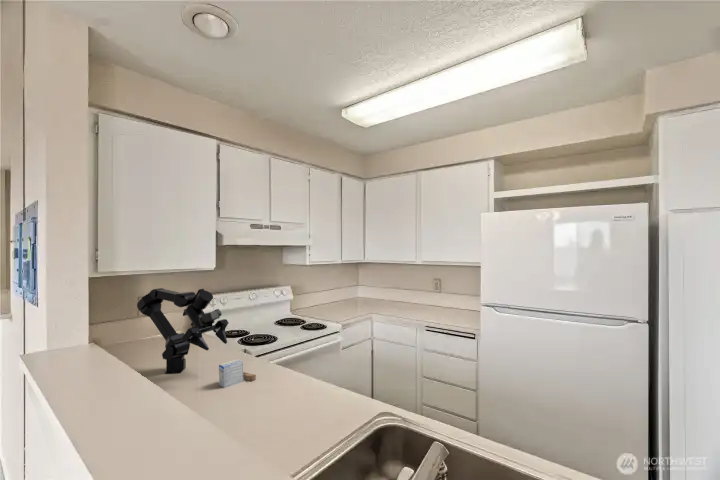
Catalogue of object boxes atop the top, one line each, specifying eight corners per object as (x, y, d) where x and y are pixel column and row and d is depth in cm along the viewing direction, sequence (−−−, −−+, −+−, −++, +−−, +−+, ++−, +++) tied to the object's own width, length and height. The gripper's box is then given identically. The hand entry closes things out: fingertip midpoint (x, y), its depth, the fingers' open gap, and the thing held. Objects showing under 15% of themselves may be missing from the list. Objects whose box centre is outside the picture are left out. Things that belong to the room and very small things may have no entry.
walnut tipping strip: (229, 377, 137) (229, 371, 137) (233, 375, 139) (233, 369, 139) (252, 382, 132) (252, 376, 132) (255, 381, 133) (255, 374, 133)
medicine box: (238, 380, 134) (237, 358, 134) (243, 382, 131) (243, 360, 131) (219, 386, 128) (218, 364, 128) (224, 390, 125) (224, 366, 125)
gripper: (187, 308, 127) (208, 340, 123) (225, 300, 144) (245, 327, 140) (173, 326, 131) (193, 358, 126) (212, 316, 148) (231, 344, 143)
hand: (217, 346), depth 134 cm, fingers open, 9 cm apart
